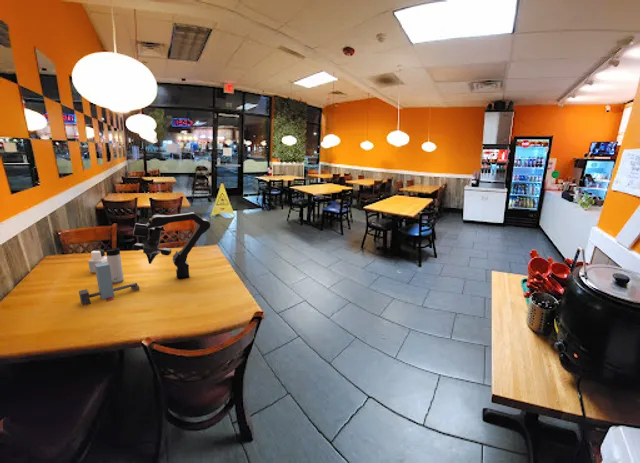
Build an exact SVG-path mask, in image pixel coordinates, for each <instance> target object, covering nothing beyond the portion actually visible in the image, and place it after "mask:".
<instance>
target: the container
mask: <svg viewBox="0 0 640 463" xmlns="http://www.w3.org/2000/svg"><path fill="white" fill-rule="evenodd" d="M90 255H91V259H88V260H87V261H88V262H87V263H88V267H89V268H88V269H89V273H96V270H95V264H98V263H103V262H107V263H108V261H107V256H106V251H105V250H104V249H101V248H100V249H99V248H98V249H94V250H92V251H91V252H90Z"/></svg>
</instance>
